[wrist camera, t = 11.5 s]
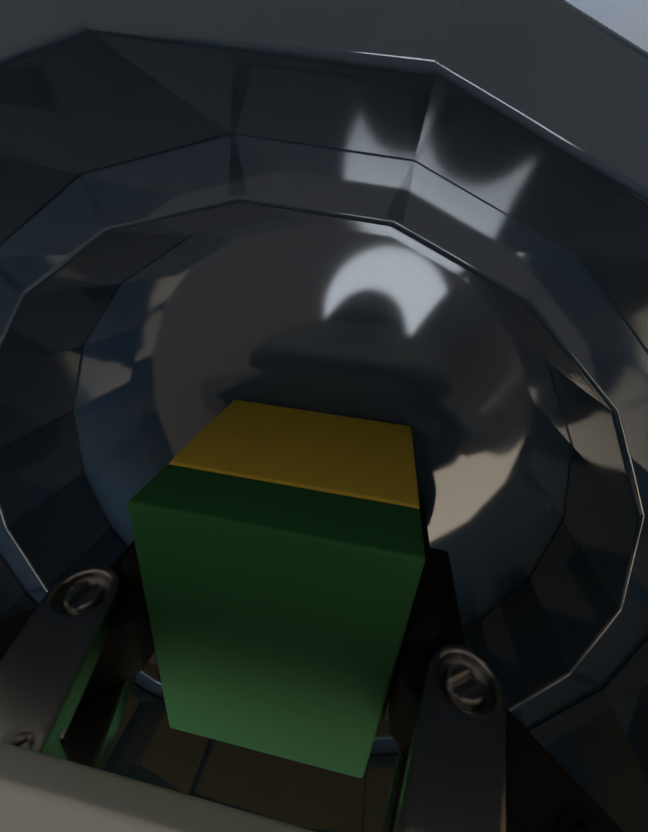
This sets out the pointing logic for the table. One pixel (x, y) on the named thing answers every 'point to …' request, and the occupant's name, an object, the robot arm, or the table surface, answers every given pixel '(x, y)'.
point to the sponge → (282, 579)
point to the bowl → (343, 324)
